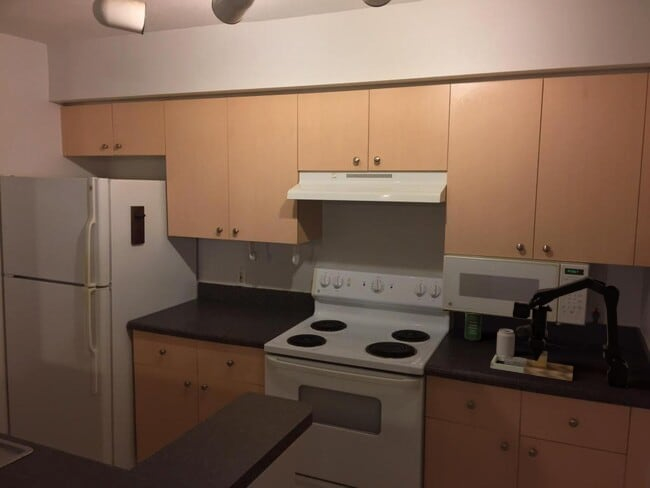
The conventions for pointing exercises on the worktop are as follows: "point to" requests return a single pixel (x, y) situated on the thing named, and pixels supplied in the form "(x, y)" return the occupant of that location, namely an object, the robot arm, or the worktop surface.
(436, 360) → the worktop surface
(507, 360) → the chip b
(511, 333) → the can
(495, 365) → the tray
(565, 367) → the slot board
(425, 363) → the worktop surface
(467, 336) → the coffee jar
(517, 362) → the chip
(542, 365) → the yellow wooden block
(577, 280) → the robot arm
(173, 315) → the worktop surface
